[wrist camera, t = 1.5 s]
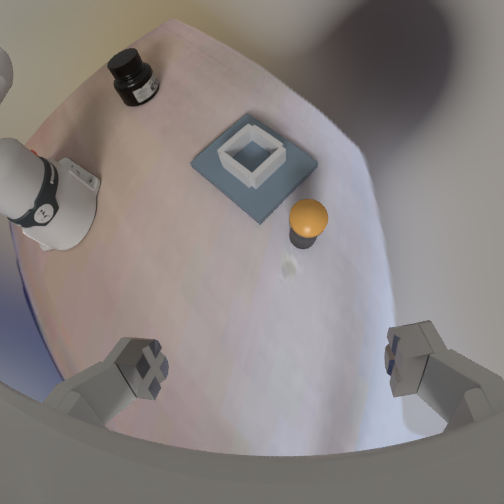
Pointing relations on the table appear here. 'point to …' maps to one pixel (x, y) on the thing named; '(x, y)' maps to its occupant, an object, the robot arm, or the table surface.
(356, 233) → the table surface
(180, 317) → the table surface
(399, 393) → the robot arm
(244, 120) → the mount
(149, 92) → the ink bottle
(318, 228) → the knob
